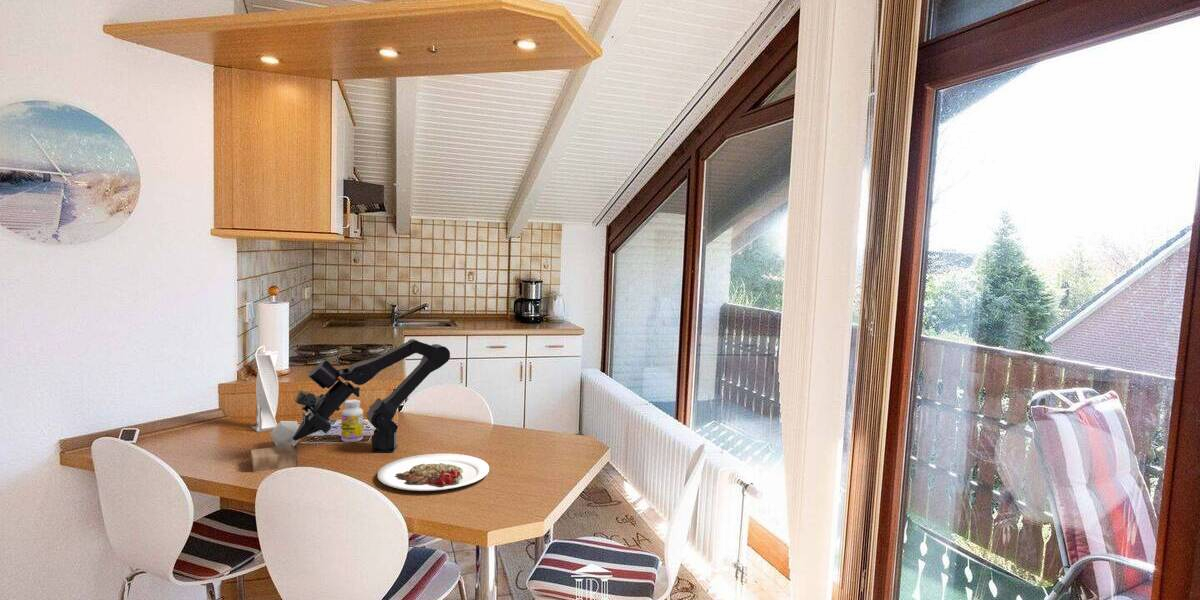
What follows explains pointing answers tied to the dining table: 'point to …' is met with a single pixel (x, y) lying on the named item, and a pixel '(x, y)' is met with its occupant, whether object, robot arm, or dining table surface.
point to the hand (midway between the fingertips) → (293, 439)
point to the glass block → (273, 458)
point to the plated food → (433, 472)
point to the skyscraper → (266, 390)
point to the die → (284, 433)
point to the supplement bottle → (352, 422)
